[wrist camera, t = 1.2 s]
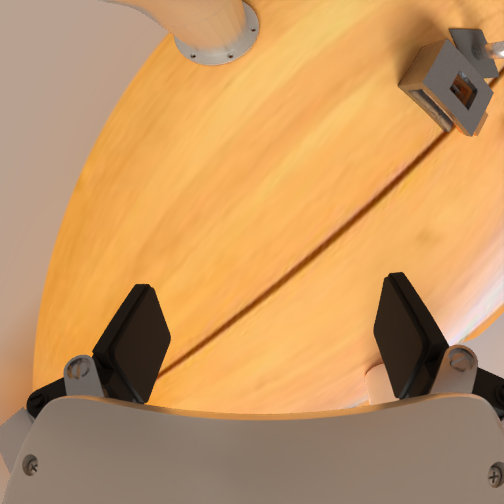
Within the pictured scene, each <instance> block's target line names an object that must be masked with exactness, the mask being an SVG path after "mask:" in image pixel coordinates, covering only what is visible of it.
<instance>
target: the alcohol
mask: <svg viewBox="0 0 504 504" xmlns="http://www.w3.org/2000/svg"><path fill="white" fill-rule="evenodd" d="M364 380H365V385H366V389H367V393H368V397H369V401H370V405H375V404H381V403H387V402H392V401H397V400H399V398H395V396H394V393H393V390H392V386H391V383H390V380H389V377H388V374H387V371H386V368H385V365H384V363H383V364H379V365H376V366H374V367H373V368H371V369H370V370H369V371H368V372H367V374H366V376H365V379H364Z"/></svg>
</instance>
